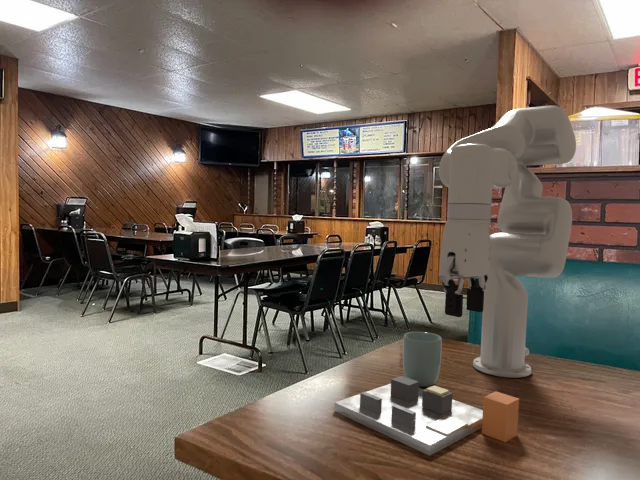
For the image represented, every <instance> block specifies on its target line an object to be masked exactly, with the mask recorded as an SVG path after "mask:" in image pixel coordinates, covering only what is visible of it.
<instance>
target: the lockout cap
mask: <svg viewBox="0 0 640 480" xmlns="http://www.w3.org/2000/svg"><path fill="white" fill-rule="evenodd" d="M482 401H483V403H482V410H483V419H482V428H481V434H483V435H485V436H488V437H490V438H493V439H495V440H499V441H501V442H504V443H507V442H508V441H510V440H512V439H514V438H515V437H517V436H518V428H519V427H518V426H519V425H518V424H519V412H520V411H519V407H520V398H519V397H514V396H513V395H508V394H506V393H503V392H499V391H496V390H495V391H494V392H492V393H489V394H487V395H485V396H483V399H482Z"/></svg>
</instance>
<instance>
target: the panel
mask: <svg viewBox="0 0 640 480" xmlns="http://www.w3.org/2000/svg"><path fill="white" fill-rule="evenodd" d="M423 390H425V389H423V388H421V387H419V391H418V398H417V399H414V400H411V401H409V402H407V401H405V400H402V399H399V398H397V397H394V396H392V395H391V383H388V384H386V385H383V386H379V387H376V388H373V389H370V390H368V391H363V392H360V393H358V394H355V395H353V396H352V395H351V396H350V397H346V398H344V399H340V400H338V401H334V412H335V413H338V414H339V415H342V416H343V417H346V418H347V419H350V420H352V421H355V422H357V423H358V424H361V425H362V426H364V427H367V428H369V429H371V430H374V431H375V432H378V433H380V434H382V435H384V436H386V437H389V438H391V439H393V440H394V441H397V442H399V443H401V444H403V445H405V446H408V447H410V448H411V449H413V450H416V451H418V452H420V453H423V454H424V455H427V456H432V455H434V454H435V453H438V452H439V451H442V450H443V449H445V448H447V447H449V446H451V445H453V444H455V443H456V442H458V441H460V440H462V439H463V438H465V437H467V436H469V435H471V434H473V433H474V432H476V431H478V430H480V429H482V419H483V409H481V408H478V407H476V406H472V405H469V404H466V403H464V402H460V401H457V400H455V399H452V410H451V411H449V412H447V413H445V414H442V415H441V414H438V413H436V412H433V411H431V410H428V409H425V408H423V407H422V395H423Z"/></svg>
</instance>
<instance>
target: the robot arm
mask: <svg viewBox="0 0 640 480" xmlns="http://www.w3.org/2000/svg"><path fill="white" fill-rule="evenodd" d="M576 150H577V140H576V136H575V131H574V129H573V126H572V123H571V120H570V118H569V115H568V114H567V112H566V111H565V110H564V109H563V108H562V107H560V106H559V105H542V106H541V105H540V106H530V107H522V108H515V109H512V110H510V111H509V110H508V112H506V113H504V114H503V115H502V117H500V118H499V120H498V121H497V122H496V123H495V124H494V125H493V126H492V127H491V128H488V129H485V130H482V131H480V132H477V133H474V134H472V135H469V136H466V137H464V138H461V139H459V140H457V141H455V142H454V143H453V144H451V146H450V147H448V149H447V150H446V151H445V152H444V153H443V155H442V156H441V159H440V161H439V166H438V176H439V180H440V181H441V183H442V184H443V186H445V187H447V188H448V189H447V190H448V191H447V195H448V196H447V214H446V215H447V216H446V217H447V219H446V222H445V223H444V224H445V225H444V228H443V231H442V232H443V233H442V239H441V245H440V246H441V247H440V255H439V257H440V258H439V269H438V270H439V272H438V277H439V279H440V281H441V284H442V286H443V292H444V293H445V302H444V303H445V304H444V305H445V306H444V315H446V316H451V317H456V318H461V317H462V316H463V307H464V294H463V293H462V291H463V286H464V283H465V281H466V279H467V281H468V286H469V288H466V307H465V308H466V310H467V311H470V312H477V313H482V319H481V335H480V336H481V340H480V341H481V342H480V356H478V357H475V358H474V359H473V360H472V361H473V362H472V366H473V367H474V369H476V370H478V371H480V372H481V373H484V374H487V375H491V376H495V377H501V378H512V379H513V378H514V379H515V378H517V379H518V378H526V377H528V376H530V375H531V374H532V367H531V366H530V365H529V364H528V363H526V362H525V359H526V358H525V357H526V356H529V354H530V349H529V348H528V347H526V342H527V341H526V340H527V339H526V337H527V323H528V322H527V321H528V319H527V318H528V302H529V298H528V297H529V296H528V292H527V290H526V288H525V286H524V285H523V283H522V282H521V280H520V279H519V278H518V277H532V278H541V279H542V278H544V279H554V278H558V277H559V276H560V275H561V274H562V273H563V271H564V269H565V265H566V262H567V261H566V260H567V254H568V249H569V243H570V237H571V231H572V225H573V210H572V206H571V204H570V203H569V201H568V200H566V198H562V197H560V196H559V197H558V196H542V194H543V192H544V191H543V184H542V181H541V180H540V178H539V177H538V176H537V175H536V174H535V173H534V172H533V171H532V170H531V169H529V168H528V167H527V166H542V165H543V166H545V165H546V166H549V165H551V166H552V165H563V164H567V163H570V161H572V159H574V156H575V154H576ZM503 188H504V191H503V192H504V193H503V195H502V199H501V203H500V207H499V210H498V214H497V221H496V222H497V227H498V230H499V231H500V232H494V233H492V234H491V231H490V230H491V229H490V228H491V227H490V224H491V222H492V221H491V220H492V204H493V201H492V200H493V190H495V189H496V190H497V189H498V190H499V189H503ZM455 281H456V282H455Z"/></svg>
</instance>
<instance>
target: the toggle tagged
mask: <svg viewBox="0 0 640 480" xmlns="http://www.w3.org/2000/svg"><path fill="white" fill-rule="evenodd" d="M452 400H453V392H450V390H449V389H447V388H443V387H440V386H438V385H431V386H428V387H426V388H425V389H424V390H423V395H422V407H423V408H425V409H428V410H431V411H433V412H436V413H438V414H441V415H442V414H445V413H447V412H449V411H451V410H452Z"/></svg>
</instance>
